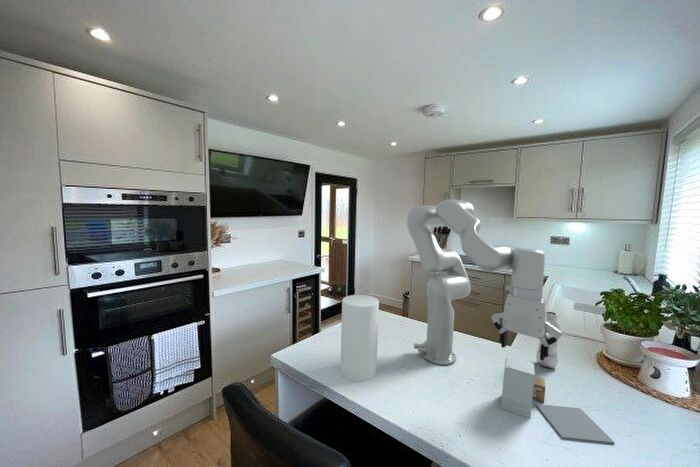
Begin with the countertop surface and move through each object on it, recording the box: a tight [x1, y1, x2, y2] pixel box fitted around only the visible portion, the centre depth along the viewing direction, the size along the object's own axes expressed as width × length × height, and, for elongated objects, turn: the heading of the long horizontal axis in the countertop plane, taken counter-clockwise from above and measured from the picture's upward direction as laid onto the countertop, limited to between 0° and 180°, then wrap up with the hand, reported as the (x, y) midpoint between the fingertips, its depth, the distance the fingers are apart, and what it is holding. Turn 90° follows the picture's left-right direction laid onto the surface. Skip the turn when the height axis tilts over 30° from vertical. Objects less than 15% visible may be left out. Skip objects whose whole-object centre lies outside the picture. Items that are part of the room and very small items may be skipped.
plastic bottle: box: [535, 310, 561, 369], centre depth 104 cm, size 6×7×20 cm
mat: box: [535, 403, 615, 445], centre depth 76 cm, size 12×12×1 cm
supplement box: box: [500, 356, 536, 419], centre depth 81 cm, size 7×7×13 cm
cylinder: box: [339, 294, 380, 382], centre depth 97 cm, size 12×12×25 cm
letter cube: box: [532, 375, 546, 403], centre depth 87 cm, size 5×5×5 cm
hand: (522, 351), depth 80 cm, fingers open, 9 cm apart
